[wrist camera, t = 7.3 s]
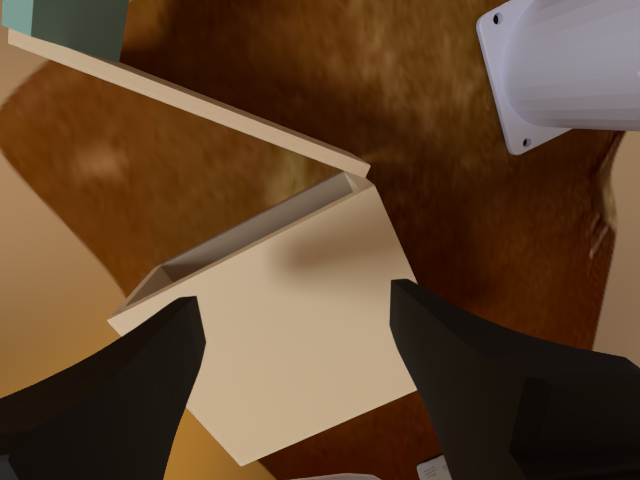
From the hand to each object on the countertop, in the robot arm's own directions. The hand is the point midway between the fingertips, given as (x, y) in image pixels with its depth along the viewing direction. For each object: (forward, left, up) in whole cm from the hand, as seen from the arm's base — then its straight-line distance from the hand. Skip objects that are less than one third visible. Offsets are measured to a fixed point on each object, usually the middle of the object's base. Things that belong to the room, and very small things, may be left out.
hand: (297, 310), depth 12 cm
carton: (+2, +4, -9) cm, 10 cm away
